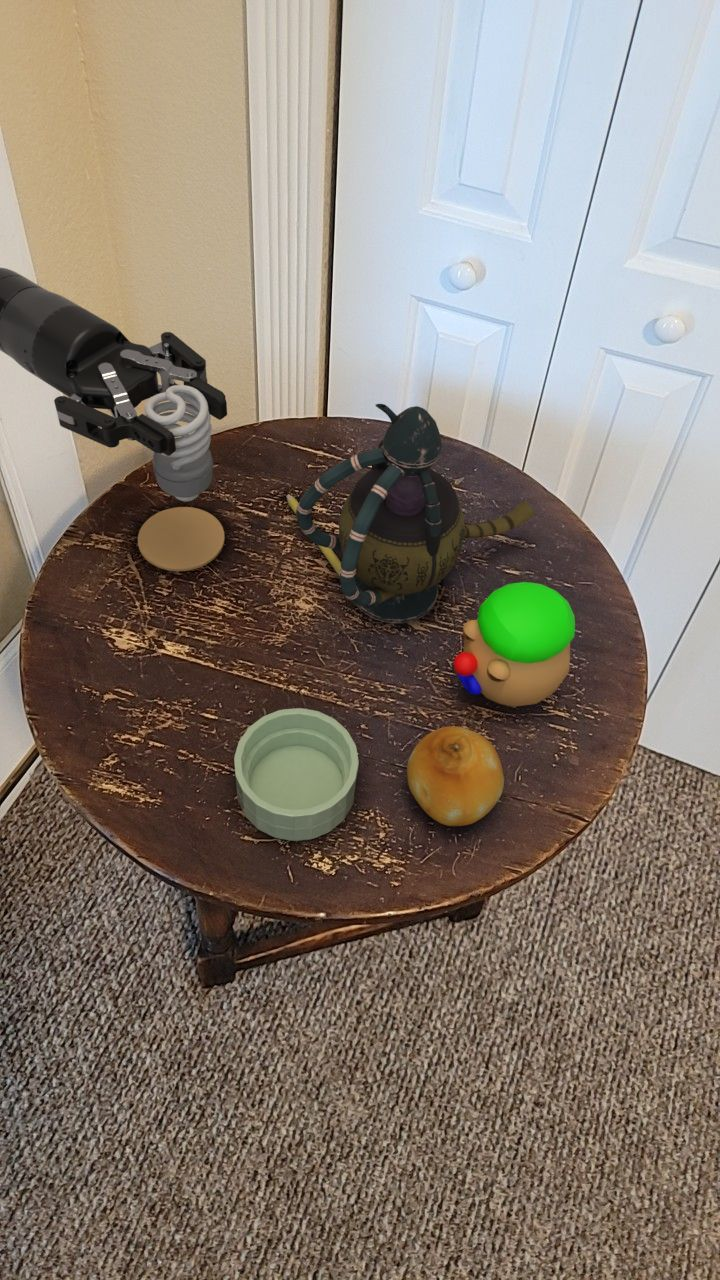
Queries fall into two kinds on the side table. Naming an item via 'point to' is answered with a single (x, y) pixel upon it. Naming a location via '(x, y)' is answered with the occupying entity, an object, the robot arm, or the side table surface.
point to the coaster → (181, 539)
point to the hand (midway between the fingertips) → (198, 426)
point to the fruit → (455, 775)
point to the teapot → (398, 521)
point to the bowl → (296, 773)
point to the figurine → (517, 645)
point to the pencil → (326, 551)
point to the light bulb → (183, 442)
